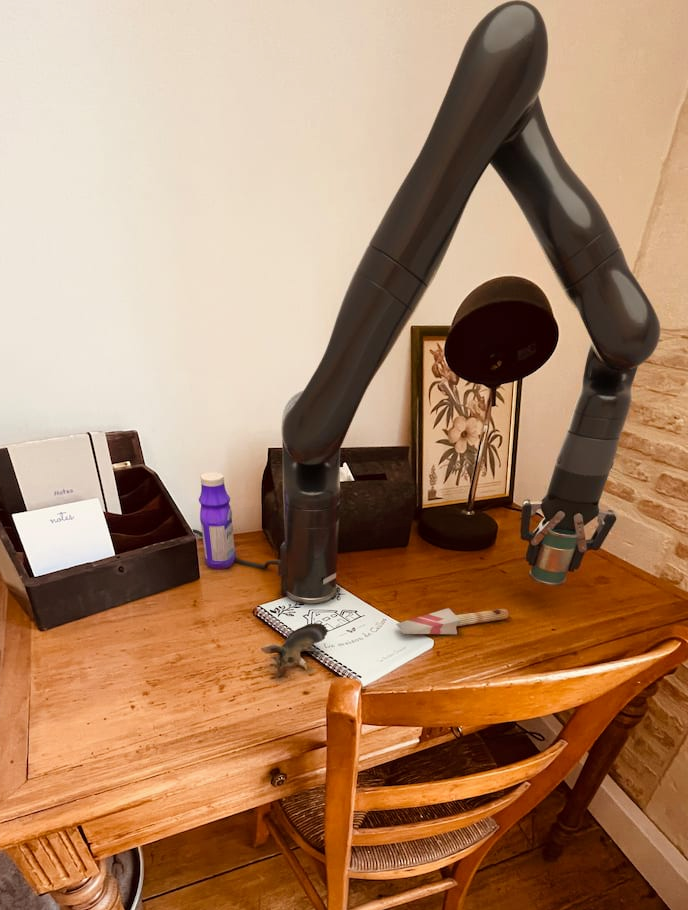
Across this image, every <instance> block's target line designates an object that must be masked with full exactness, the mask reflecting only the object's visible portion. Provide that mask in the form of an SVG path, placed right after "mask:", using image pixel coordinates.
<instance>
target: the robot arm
mask: <svg viewBox="0 0 688 910" xmlns="http://www.w3.org/2000/svg"><path fill="white" fill-rule="evenodd" d="M548 59H549V38H548V30H547V26H546V23H545V20H544V18H543V15H542V14H541V12H540V11H539V10H538V8H537V7H536V6H535V5H533V4H532V3H531V2H528V1H526V0H510V1H509V0H508V1H506V2H504V3H501V4H499V5H497V6H496V7H494V8H493V9H492V10H490V11H489V12H488V13H486V15H485V16H483V18H482V19H481V20H480V21H479V22H478V23H477V25H476V26H475V27H474V29H472V30H471V32H470V35H469V36H468V38H467V40H466V41H465V44H464V46H463V48H462V51H461V54H460V57H459V59H458V61H457V63H456V67H455V68H454V69H455V70H454V72H453V74H452V77H451V79H450V82H449V85H448V87H447V90H446V92H445V95H444V97H443V100H442V101H441V104H440V106H439V109H438V111H437V114H436V116H435V119H434V121H433V123H432V126H431V128H430V130H429V132H428V134H427V137H426V139H425V141H424V143H423V145H422V147H421V150H420V152H419V154H418V156H417V157H416V158H415V161H414V163H413V164H412V166H411V167H410V169H409V171H408V173H407V174H406V176H405V178H404V179H403V181H402V182H401V184H400V186H399V188H398V189H397V192H396V193H395V195H394V196H393V198H392V200H391V202H390V203H389V205H388V207H387V208H386V211H385V212H384V214H383V216H382V218H381V220H380V222H379V224H378V226H377V227H376V230H375V231H374V233H373V235H372V236H371V239H370V240H369V242H368V245H367V247H366V248H365V250H364V253H363V254H362V257H361V258H360V260H359V262H358V264H357V267H356V269H355V271H354V272H353V274H352V277H351V279H350V281H349V284H348V286H347V289H346V291H345V294H344V296H343V299H342V301H341V304H340V307H339V310H338V312H337V316H336V319H335V321H334V325H333V328H332V331H331V334H330V337H329V340H328V343H327V346H326V349H325V351H324V353H323V355H322V358H321V360H320V362H319V364H318V365H317V367H316V369H315V371H314V372H313V374H312V376H311V377H310V379H309V381H308V383H307V384H306V386H305V388H304V389H303V390H301V391H299V392H296V393H295V394H294V395H293V396H292V397H290V398H289V400H288V401H287V403H286V405H285V407H284V409H283V411H282V415H281V441H282V442H281V443H282V448H281V449H282V498H283V499H282V501H283V503H282V504H283V542H282V544H281V545H280V548H279V553H280V555H279V556H280V559H279V560H268V561H266V562H265V563H264V564H259V563H253V562H249V561H246V560H243V559H240V558H239V557H235V560H234V562H235V563H238V564H240V565H243V566H249V567H252V568H256V569H262V570H263V569H264V570H265V569H268V568H269V566H272V565H273V566H275V565H276V566H277V576H280V586H281V589H280V590H281V595H282V596H286V597H288V599H290V600H292V601H294V602H297V603H301V604H307V605H308V604H309V605H310V604H311V605H315V604H322V603H325V602H328V601H330V600H331V599H333V598H335V596H336V594H337V589H338V588H337V573H338V572H337V571H338V551H339V528H340V527H339V526H340V525H339V524H340V503H341V501H340V500H341V466H340V464H341V447H342V445H343V443H344V441H345V439H346V436H347V435H348V432H349V429H350V427H351V424H352V422H353V420H354V418H355V417H356V414H357V411H358V409H359V407H360V405H361V403H362V401H363V398H364V396H365V395H366V392H367V390H368V388H369V386H370V385H371V384H372V381H373V379H374V378H375V376H376V375H377V373H378V372H379V371H380V369H381V367H382V366H383V364H384V363H385V362H386V360H387V358H388V357H389V355H390V354H391V352H392V350H393V349H394V347H395V346H396V344H397V342H398V341H399V340H400V338H401V336H402V334H403V333H404V331H405V330H406V328H407V326H408V325H409V323H410V321H411V320H412V318H413V317H414V315H415V313H416V311H417V309H418V307H419V306H420V305H421V302H422V301H423V299H424V298H425V296H426V294H427V292H428V290H429V288H430V287H431V285H432V283H433V281H434V279H435V277H436V275H437V273H438V272H439V269H440V268H441V265H442V263H443V261H444V258H445V256H446V255H447V252H448V250H449V247H450V246H451V243H452V241H453V238H454V236H455V234H456V231H457V230H458V229H457V228H458V227H459V224H460V222H461V219H462V217H463V214H464V212H465V210H466V208H467V205H468V204H469V203H468V202H469V200H470V199H471V196H472V195H473V192H474V191H475V189H476V187H477V184H478V183H479V181H480V180H481V178H482V176H483V174H484V173H485V172H486V170H487V168H488V167H489V165H490V166H491V167H492V168H493V170H494V171H495V172H496V174H497V175H498V176H499V178H500V180H501V181H502V182H503V184H504V185H505V187H506V188H507V190H508V191H509V193H510V194H511V196H512V197H513V199H514V200H515V202H516V204H517V205H518V208H519V209H520V211H521V212H522V215H523V216H524V218H525V220H526V221H527V224H528V225H529V227H530V229H531V231H532V233H533V235H534V237H535V239H536V241H537V243H538V246H539V247H540V249H541V250H542V252H543V254H544V256H545V257H544V258H545V259H546V260H547V263H548V265H549V267H550V268H551V270H552V272H553V274H554V276H555V278H556V280H557V282H558V285H559V286H560V288H561V290H562V291H563V293H564V295H565V297H566V298H567V300H568V301H569V303H570V304H571V305H572V307H573V308H574V309H575V310H576V311H577V313H578V315H579V317H580V319H581V321H582V323H583V326H584V328H585V330H586V332H587V333H588V334H587V335H588V337H589V338H590V342H589V346H588V351H587V355H586V360H585V364H584V368H583V369H584V370H583V375H582V380H581V386H580V388H579V389H580V390H579V393H578V396H577V399H576V401H575V404H574V406H573V411H572V414H571V417H570V420H569V424H568V426H567V430H566V433H565V436H564V438H563V440H562V441H561V445H560V448H559V451H558V454H557V458H556V461H555V464H554V468H553V471H552V475H551V478H550V482H549V486H548V488H547V491H546V495H545V496H544V497H543V498H542V499H541V501H540V500H539V501H536V500H533V501H531V500H530V499H528V498H526V499H524V500H523V501H522V506H521V507H522V508H521V517H520V518H521V519H520V530H519V531H520V539H521V540H522V541H526V542H528V546H527V550H526V553H525V560H526V562H527V564H528V566H530V567H532V566H533V565H534V562H535V559H536V555H537V552H538V549H539V542H540V541H541V540H542V539H543V538H544V536H547V535H548V530H552V529H560V530H567V531H576V533H577V534H580V535H579V537H578V539H577V540H578V542H577V548H576V550H575V553H574V556H573V559H572V562H571V565H570V568H569V570H568V573H574V572H575V570H578V569H579V568H580V567H581V564H582V562H583V559H584V556H585V553H586V552H588V551H592V550H593V551H599V550H600V549H601V547H602V545H603V544H604V542H605V540H606V538H607V537H608V536H609V533H610V532H611V531H612V528H613V527H614V525H615V523H616V521H617V516H616V514H615V512H614V510H612V509H608V510H605V509H604V510H603V509H601V508H600V507H599V503H600V500H601V498H602V494H603V492H604V489H605V486H606V484H607V481H608V477H609V476H610V473H611V470H612V469H613V466H614V463H615V462H614V461H615V458H616V456H617V451H618V447H619V442H620V438H621V435H622V433H623V430H624V427H625V424H626V421H627V419H628V415H629V413H630V410H631V405H632V387H633V383H634V380H635V378H636V374H637V371H638V368H639V366H641V365H642V364H644V363H645V362H646V361H647V360H649V358H651V357H652V355H653V354H654V352H655V351H656V349H657V347H658V345H659V342H660V338H661V323H660V319H659V317H658V315H657V313H656V310H655V308H654V306H653V305H652V304H653V303H651V300H650V299H649V298H648V296H647V294H646V292H645V291H644V289H643V287H641V285H640V282H639V281H638V280H637V278H636V277H635V275H634V274H633V273H632V271H631V269H630V267H629V265H628V262H627V259H626V256H625V254H624V251H623V249H622V246H621V244H620V242H619V240H618V238H617V236H616V234H615V232H614V230H613V227H612V225H611V223H610V221H609V219H608V218H607V216H606V214H605V212H604V210H603V208H602V206H601V205H600V203H599V202H598V200H597V199H596V197H595V196H594V195H593V193H592V192H591V190H590V189H589V188H588V187H587V185H586V184H585V183H584V182H583V181H582V179H581V178H580V177H579V176H578V175H577V173H576V172H575V171H574V170H573V169H572V167H571V166H570V164H569V163H568V162H567V160H566V159H565V157H564V155H563V153H562V152H561V150H560V149H559V147H558V145H557V143H556V141H555V139H554V137H553V135H552V132H551V130H550V128H549V125H548V123H547V119H546V116H545V113H544V109H543V106H542V103H541V99H540V96H539V94H540V91H541V89H542V87H543V83H544V80H545V77H546V72H547V67H548ZM538 510H540V511H541V513H542V515H543V518H542V520H541V521H540V522H539V523H538V526H537V527H536V528H535V529H534V530H533V531H532V530H530V526H531V517H534V516H535V515H536V514H537V511H538ZM596 518H597V519H596ZM594 519H596V520H597V524H598V525H597V527H596V528H595V531H594V532H593V534H592V536H591V538H590V539H589V538H588V539H586V533H585V526H586V525H587V524H589V523H590V522H591V521H593V520H594ZM545 522H547V523H546V524H545V526H544V523H545ZM192 530H193V532H194V533H193V534H196V535H199V536H200V537H201V538H203V535H202V531H200V530H198V529H192Z"/></svg>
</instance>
